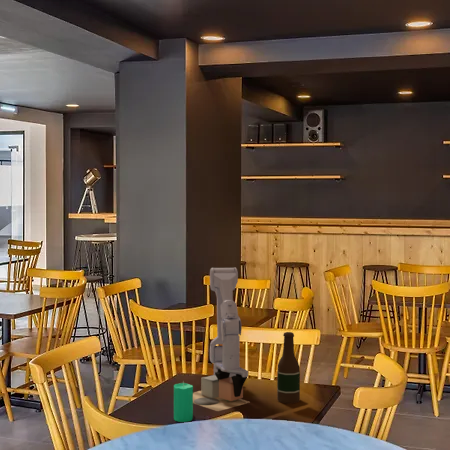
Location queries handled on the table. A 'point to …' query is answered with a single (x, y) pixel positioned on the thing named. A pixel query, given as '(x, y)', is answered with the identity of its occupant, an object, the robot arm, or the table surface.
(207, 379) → the grey square box
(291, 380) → the beer bottle
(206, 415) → the table surface
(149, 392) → the table surface
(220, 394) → the small tan cube
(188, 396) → the candle
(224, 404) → the board
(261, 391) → the table surface
